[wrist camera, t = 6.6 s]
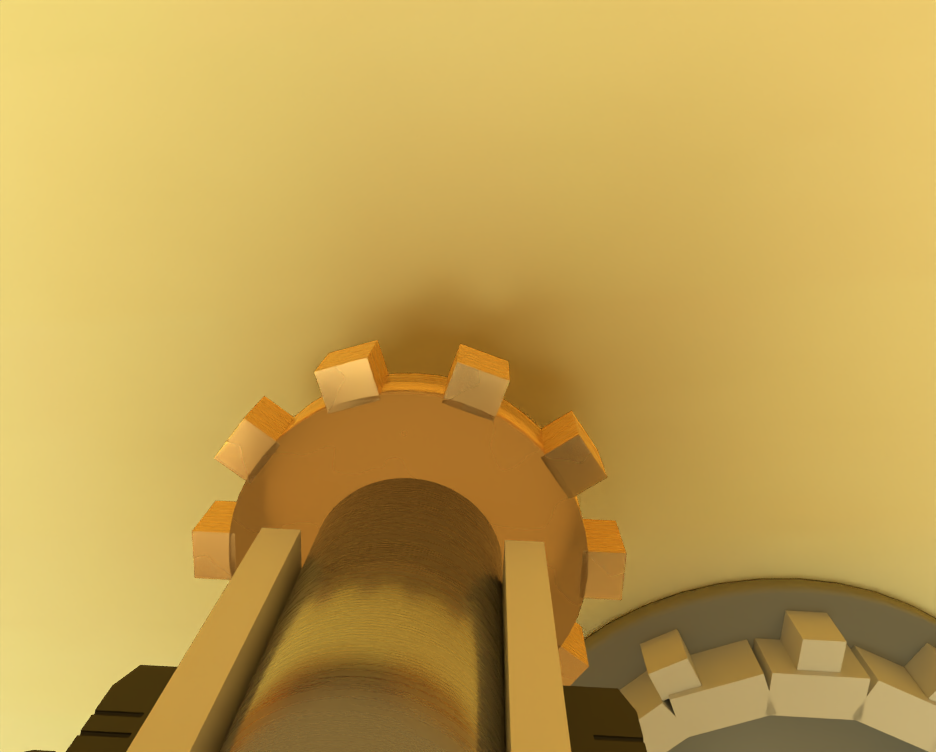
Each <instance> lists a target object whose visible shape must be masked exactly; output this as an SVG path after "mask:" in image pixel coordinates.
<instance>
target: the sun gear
mask: <svg viewBox="0 0 936 752" xmlns="http://www.w3.org/2000/svg"><path fill="white" fill-rule="evenodd" d="M314 374H315V377H316V380H317V382H318V385H319V388H320V391H321V394H322V397H321V398H319V399H317V400H316V401H314V402H312V403H311V404H310V405H308V406H307V407H306V408H305V409H303V410H302V411H301V412H300V413H298V414H297V415H296V416H295V417H293V416H291V415H290V414H289V413H287V412H286V411H285V410H283V409H282V408H280V407H279V406H278V405H276V404H275V403H274V402H272V401H271V400H269V399H268V398H267V397H265V396H264V397H263V398H262V399H261V400H260V401H259V402H258V403H257V404H256V405H255V407H254V408H253V409H252V410H251V411H250V412H249V413H248V414H247V415H246V416H245V417H244V419H243V420H242V421H241V423H240V424H239V425H238V427H237V428H236V429H235V431H234V432H233V433H232V435H231V436H230V437H229V439H228V440H227V441H226V443H225V444H224V445H223V447H222V448H221V449H220V451H219V452H218V453H217V455H216V456H215V457H214V458H215V459H216V460H217V461H219V462H220V463H222V464H223V465H224V466H226V467H227V468H229V469H230V470H232V471H233V472H234V473H236V474H237V475H239V476H240V477H242V478H243V479H244V480H246V482H245V484H244V486H243V488H242V490H241V492H240V494H239V497H238V500H237V502H232V501H215V502H214V504H213V505H212V506H211V508H210V509H209V510H208V511H207V513H206V514H205V515H204V516H203V518H202V519H201V520H200V522H199V523H198V524H197V525H196V527H195V528H194V529H193V531H192V540H193V556H194V573H195V578H208V579H227V580H231V578H232V576H233V575H234V573H235V571H236V570H237V568H238V567H239V565H240V563H241V562H242V560H243V558H244V557H245V555H246V553H247V552H248V550H249V548H250V547H251V545H252V543H253V542H254V540H255V538H256V537H257V535H258V533H259V532H260V530H261V529H262V528H277V529H297V530H301V564H302V569H301V571H300V574H299V576H298V578H297V580H296V582H295V585H294V587H293V589H292V591H291V593H290V596H289V598H288V600H287V602H286V605H285V607H284V609H283V611H282V613H281V616H280V618H279V620H278V622H277V624H276V627H275V629H274V631H273V633H272V635H271V638H270V640H269V642H268V644H267V647H266V649H265V651H264V653H263V655H262V658H261V660H260V662H259V664H258V666H257V669H256V671H255V673H254V675H253V677H252V680H251V682H250V684H249V686H248V689H247V691H246V693H245V695H244V697H243V700H242V702H241V704H240V706H239V708H238V711H237V713H236V715H235V717H234V719H233V722H232V724H231V726H230V728H229V730H228V733H227V735H226V737H225V739H224V742H223V744H222V746H221V748H220V750H219V752H506V742H505V696H504V650H503V604H502V577H503V560H504V544H505V540H514V541H534V542H544V546H545V554H546V562H547V569H548V577H549V585H550V592H551V600H552V608H553V615H554V623H555V631H556V638H557V646H558V654H559V661H560V669H561V677H562V684H563V685H564V686H570V685H571V684H572V683H573V682H574V681H575V680H576V679H577V678H578V677H579V676H580V675H581V674H582V673H583V672H584V671H585V670H586V669H587V668H588V667H589V664H588V658H587V653H586V648H585V642H584V637H583V632H582V627H581V626H580V625H579V624H577V623H576V622H575V621H576V619H577V617H578V615H579V612H580V608H581V605H582V602H583V599H584V598H595V599H614V600H621V599H622V589H623V580H624V570H625V561H626V551H625V548H624V545H623V542H622V539H621V536H620V533H619V530H618V527H617V523H616V521H612V520H592V519H582V515H581V511H580V507H579V503H578V499H577V495H578V494H579V493H581V492H583V491H585V490H586V489H588V488H590V487H591V486H593V485H595V484H597V483H598V482H600V481H602V480H603V479H605V478H607V475H606V472H605V469H604V467H603V464H602V461H601V458H600V455H599V452H598V450H597V448H596V447H595V445H594V444H593V442H592V441H591V439H590V438H589V436H588V435H587V433H586V432H585V430H584V429H583V427H582V426H581V424H580V423H579V421H578V420H577V418H576V417H575V415H574V413H573V412H572V410H571V411H570V412H568V413H566V414H565V415H563V416H562V417H560V418H558V419H557V420H555V421H553V422H552V423H550V424H548V425H547V426H545V427H543V428H542V429H540V428H539V427H538V426H537V425H536V424H535V423H534V422H533V421H532V420H530V419H529V418H528V417H527V416H526V415H525V414H524V413H523V412H521V411H520V410H519V409H517V408H516V407H514V406H513V405H512V404H510V403H509V402H507V401H506V400H504V399H503V397H504V395H505V392H506V390H507V387H508V385H509V382H510V376H509V363H508V361H506V360H503V359H501V358H498V357H495V356H492V355H490V354H487V353H484V352H482V351H479V350H476V349H473V348H471V347H468V346H465V345H462V344H460V346H459V348H458V351H457V353H456V356H455V359H454V361H453V364H452V367H451V369H450V372H449V375H448V377H444V376H439V375H430V374H421V373H396V374H388V371H387V368H386V365H385V361H384V358H383V355H382V352H381V349H380V346H379V343H378V340H375V341H371V342H368V343H364V344H360V345H357V346H353V347H349V348H346V349H342V350H338V351H334V352H331V353H329V354H328V355H327V356H326V357H325V359H324V360H323V361H322V362H321V364H320V365H319V366H318V367H317V369H316V370H315V371H314Z"/></svg>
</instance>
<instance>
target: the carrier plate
mask: <svg viewBox="0 0 936 752" xmlns="http://www.w3.org/2000/svg"><path fill="white" fill-rule="evenodd" d="M584 642H585V648H586V653H587V658H588V664H589V667H588V668H587V669H586V670H585V671H584V672H583V673H582V674H581V675H580V676H579V677H578V678H577V679H576V680H575V681H574V682H573V683H572V684H571V685H570V686H583V687H601V688H618V689H619V690H620V692H621V693H622V694H623V695H624V697H625V698H626V699H627V700H628V701H629V703H630V704H631V705H632V706H633V708H634V709H635V710H636V711H637V714H638V718H639V722H640V726H641V730H642V734H643V742H644V743H645V746H646V750H647V752H936V619H935V618H934V617H932V616H930V615H928V614H926V613H924V612H922V611H920V610H919V609H917V608H915V607H913V606H911V605H909V604H906V603H903V602H901V601H898V600H895V599H893V598H890V597H887V596H884V595H882V594H879V593H876V592H873V591H868V590H864V589H860V588H856V587H851V586H847V585H843V584H839V583H830V582H821V581H813V580H804V579H757V580H748V581H739V582H731V583H722V584H717V585H713V586H708V587H704V588H700V589H695V590H691V591H687V592H682V593H679V594H677V595H674V596H671V597H668V598H665V599H662V600H660V601H657V602H654V603H651V604H648V605H645V606H643V607H641V608H639V609H637V610H635V611H633V612H631V613H629V614H627V615H625V616H623V617H621V618H619V619H617V620H615V621H613V622H611V623H609V624H608V625H606V626H605V627H603V628H602V629H600V630H599V631H597V632H595V633H594V634H592V635H591V636H589V637H588V638H586V639H585V640H584Z"/></svg>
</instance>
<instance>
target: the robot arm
mask: <svg viewBox="0 0 936 752" xmlns="http://www.w3.org/2000/svg"><path fill="white" fill-rule="evenodd" d="M301 569H302V564H301V530H297V529H277V528H262V529H261V530H260V532H259V533H258V535H257V537H256V538H255V540H254V542H253V543H252V545H251V547H250V548H249V550H248V552H247V553H246V555H245V557H244V558H243V560H242V562H241V563H240V565H239V567H238V568H237V570H236V571H235V573H234V575H233V576H232V578H231V580H230V581H229V583H228V585H227V586H226V588H225V590H224V591H223V593H222V595H221V596H220V598H219V600H218V601H217V603H216V605H215V606H214V608H213V609H212V611H211V613H210V614H209V616H208V618H207V619H206V621H205V623H204V624H203V626H202V628H201V629H200V631H199V633H198V634H197V636H196V638H195V639H194V641H193V642H192V644H191V646H190V647H189V649H188V651H187V652H186V654H185V656H184V657H183V659H182V661H181V662H180V664H179V666H178V667H168V666H150V665H140V666H138V667H137V668H136V669H134V670H133V671H132V672H130V673H129V674H127V675H126V676H125V677H123V678H122V679H121V680H119V681H118V682H117V683H115V684H114V685H113V686H112V687H111V688H110V690H109V691H108V693H107V694H106V696H105V697H104V698H103V700H102V701H101V703H100V704H99V705H98V707H97V708H96V710H95V714H94V715H91V717H90V718H89V720H88V721H87V722H86V724H85V725H84V727H83V728H82V730H81V734H80V736H78V735H77V737H76V738H75V739H74V741H73V742H72V744H71V745H70V747H69V748H68V749H67V751H66V752H219V750H220V748H221V746H222V744H223V742H224V739H225V737H226V735H227V733H228V730H229V728H230V726H231V724H232V722H233V719H234V717H235V715H236V713H237V711H238V708H239V706H240V704H241V702H242V700H243V697H244V695H245V693H246V691H247V689H248V686H249V684H250V682H251V680H252V677H253V675H254V673H255V671H256V669H257V666H258V664H259V662H260V660H261V658H262V655H263V653H264V651H265V649H266V647H267V644H268V642H269V640H270V638H271V635H272V633H273V631H274V629H275V627H276V624H277V622H278V620H279V618H280V616H281V613H282V611H283V609H284V607H285V605H286V602H287V600H288V598H289V596H290V593H291V591H292V589H293V587H294V585H295V582H296V580H297V578H298V576H299V574H300V571H301ZM502 604H503V650H504V696H505V742H506V752H647V750H646V746H645V743H644V742H643V734H642V730H641V726H640V722H639V718H638V714H637V711H636V710H635V709H634V708H633V706H632V705H631V704H630V703H629V701H628V700H627V699H626V698H625V697H624V695H623V694H622V693H621V692H620V690H619V689H618V688H601V687H583V686H564V685H563V684H562V677H561V669H560V661H559V654H558V646H557V638H556V631H555V623H554V615H553V608H552V600H551V592H550V585H549V577H548V569H547V562H546V554H545V546H544V542H534V541H514V540H505V544H504V560H503V577H502ZM26 752H55V751H41V750H31V751H26Z"/></svg>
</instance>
